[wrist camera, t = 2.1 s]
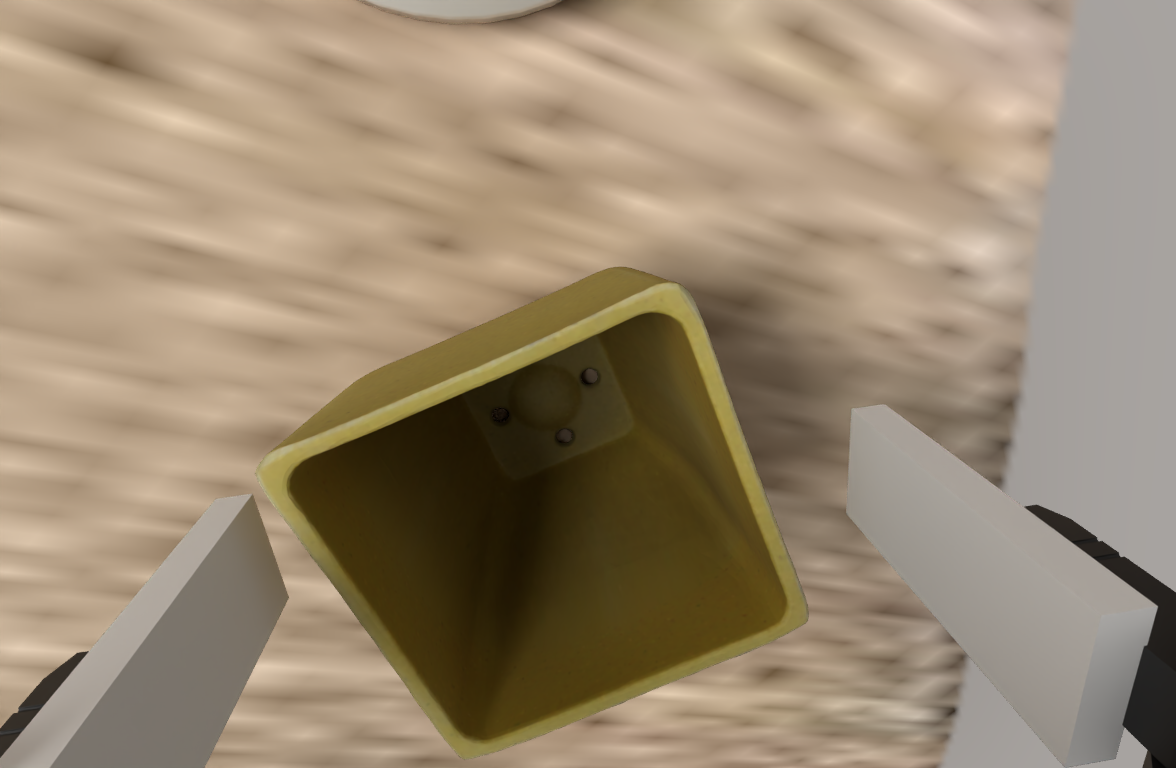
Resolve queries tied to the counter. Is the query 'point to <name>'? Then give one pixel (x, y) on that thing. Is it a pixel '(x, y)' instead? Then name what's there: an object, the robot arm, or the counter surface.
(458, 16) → the white flat disc
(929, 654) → the counter surface
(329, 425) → the flower pot
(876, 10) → the counter surface
